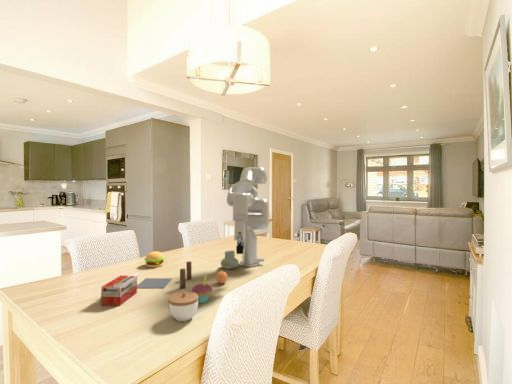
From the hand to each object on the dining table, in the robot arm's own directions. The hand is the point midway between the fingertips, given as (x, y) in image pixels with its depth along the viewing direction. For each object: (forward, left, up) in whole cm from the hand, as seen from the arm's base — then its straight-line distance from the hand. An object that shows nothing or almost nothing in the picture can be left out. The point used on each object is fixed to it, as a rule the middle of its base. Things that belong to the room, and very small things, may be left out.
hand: (240, 251), depth 138 cm
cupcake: (+15, +22, -16) cm, 31 cm away
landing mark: (+43, 0, -16) cm, 46 cm away
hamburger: (+54, -32, -17) cm, 65 cm away
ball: (+9, 0, -13) cm, 16 cm away
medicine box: (+51, +19, -17) cm, 57 cm away
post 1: (+27, +6, -16) cm, 32 cm away
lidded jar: (+19, +37, -16) cm, 45 cm away
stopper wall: (+55, 0, -16) cm, 58 cm away
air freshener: (+7, -27, -17) cm, 32 cm away
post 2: (+27, -7, -16) cm, 32 cm away
